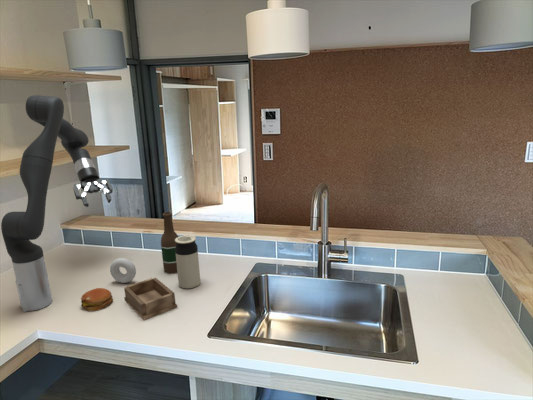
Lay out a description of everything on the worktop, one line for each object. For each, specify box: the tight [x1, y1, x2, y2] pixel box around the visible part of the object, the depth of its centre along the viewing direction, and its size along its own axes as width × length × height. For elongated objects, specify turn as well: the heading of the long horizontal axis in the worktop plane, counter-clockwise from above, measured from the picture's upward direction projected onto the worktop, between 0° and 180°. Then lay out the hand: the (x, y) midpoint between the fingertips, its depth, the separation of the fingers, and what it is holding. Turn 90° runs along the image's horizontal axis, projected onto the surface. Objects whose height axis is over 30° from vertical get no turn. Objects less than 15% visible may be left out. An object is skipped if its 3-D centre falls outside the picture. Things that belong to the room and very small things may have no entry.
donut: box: [109, 257, 137, 284], centre depth 153 cm, size 10×3×10 cm, turn 82°
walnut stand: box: [123, 277, 178, 321], centre depth 138 cm, size 12×17×5 cm
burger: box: [80, 287, 114, 312], centre depth 139 cm, size 10×9×5 cm
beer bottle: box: [160, 211, 179, 275], centre depth 161 cm, size 8×8×24 cm
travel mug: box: [175, 234, 201, 289], centre depth 149 cm, size 8×8×18 cm
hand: (98, 203), depth 163 cm, fingers open, 8 cm apart
